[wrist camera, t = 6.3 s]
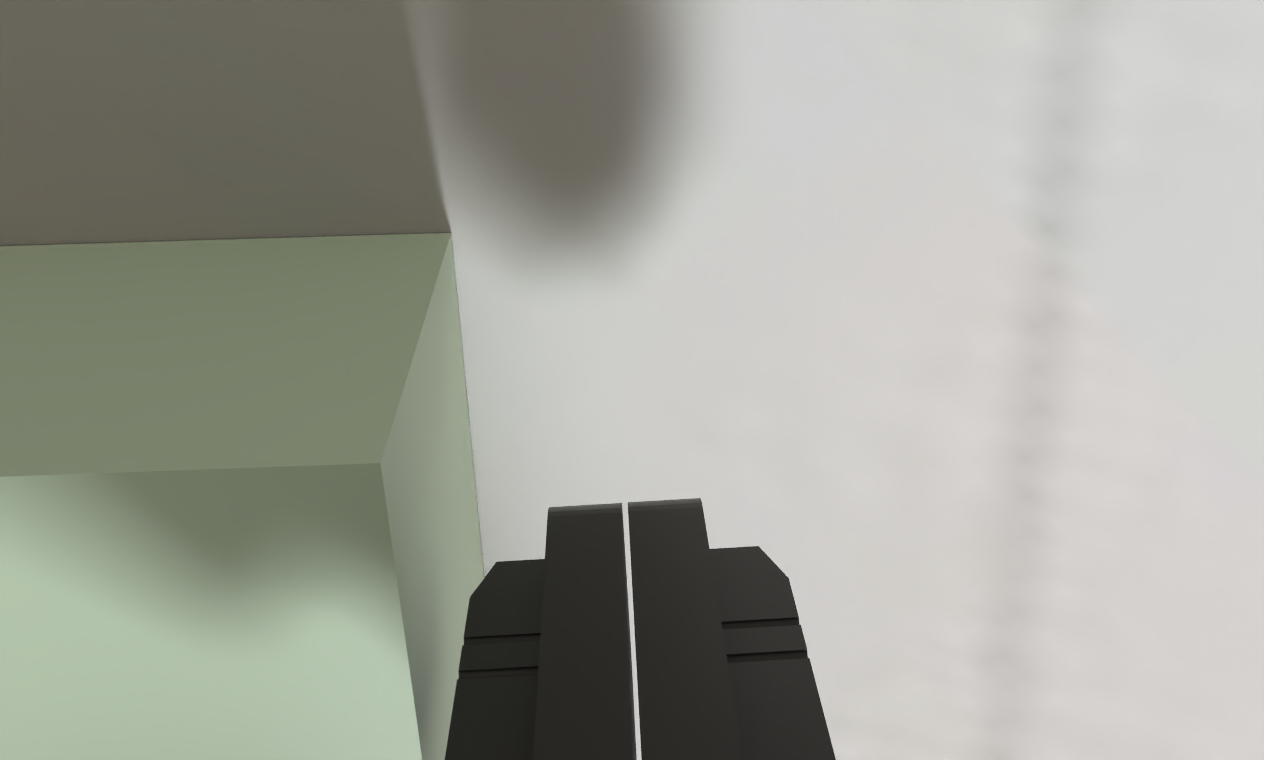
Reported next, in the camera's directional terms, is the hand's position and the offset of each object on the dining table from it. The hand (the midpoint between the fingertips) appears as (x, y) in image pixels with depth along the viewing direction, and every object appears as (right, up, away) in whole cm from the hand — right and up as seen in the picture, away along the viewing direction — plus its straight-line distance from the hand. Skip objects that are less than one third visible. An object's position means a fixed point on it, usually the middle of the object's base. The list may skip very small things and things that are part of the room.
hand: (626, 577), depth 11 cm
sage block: (-5, +1, +3) cm, 6 cm away
